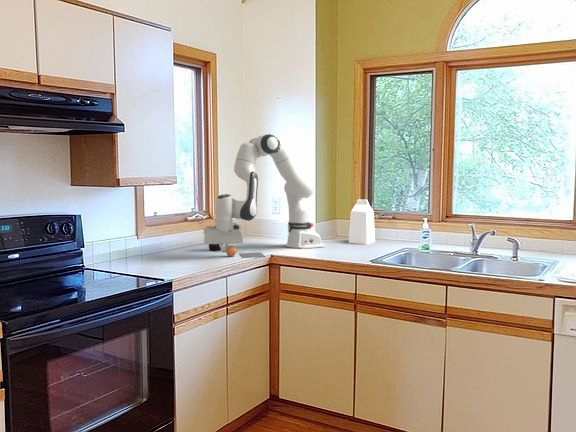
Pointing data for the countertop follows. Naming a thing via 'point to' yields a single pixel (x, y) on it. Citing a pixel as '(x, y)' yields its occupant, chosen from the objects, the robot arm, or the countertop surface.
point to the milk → (362, 223)
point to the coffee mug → (214, 247)
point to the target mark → (251, 255)
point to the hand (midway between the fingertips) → (223, 252)
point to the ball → (231, 251)
